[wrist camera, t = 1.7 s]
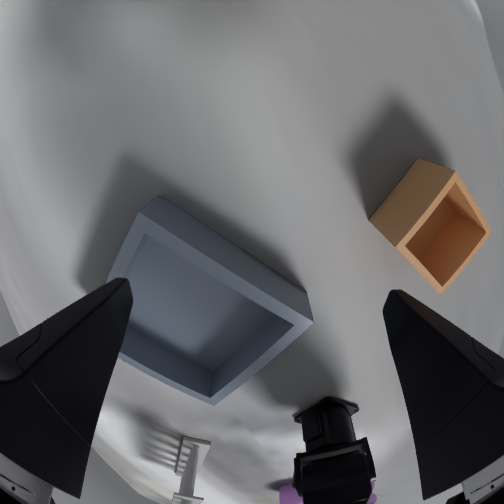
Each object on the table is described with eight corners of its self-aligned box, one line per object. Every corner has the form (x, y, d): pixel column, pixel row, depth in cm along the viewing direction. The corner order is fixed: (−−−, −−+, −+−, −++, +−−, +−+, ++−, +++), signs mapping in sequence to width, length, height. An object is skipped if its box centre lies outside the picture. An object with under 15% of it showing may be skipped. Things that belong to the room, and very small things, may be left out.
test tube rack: (184, 435, 36) (171, 506, 24) (211, 441, 36) (202, 512, 24) (175, 472, 46) (167, 518, 35) (194, 476, 47) (188, 522, 35)
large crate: (306, 291, 23) (314, 322, 19) (218, 376, 28) (214, 405, 24) (159, 194, 20) (138, 211, 16) (102, 311, 25) (85, 336, 21)
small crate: (457, 209, 19) (491, 231, 15) (413, 263, 22) (440, 295, 17) (417, 158, 18) (455, 171, 13) (368, 219, 20) (395, 247, 15)
